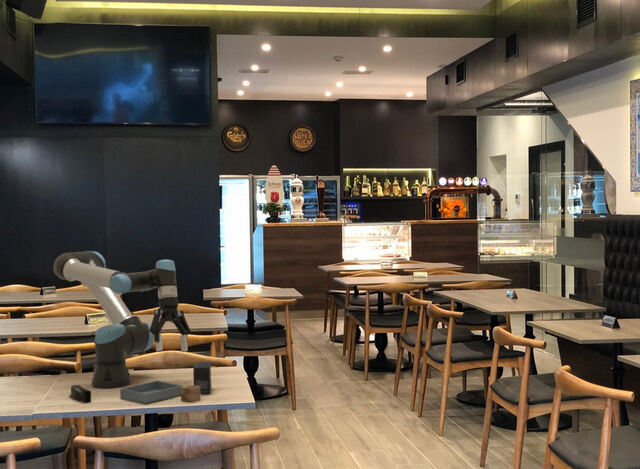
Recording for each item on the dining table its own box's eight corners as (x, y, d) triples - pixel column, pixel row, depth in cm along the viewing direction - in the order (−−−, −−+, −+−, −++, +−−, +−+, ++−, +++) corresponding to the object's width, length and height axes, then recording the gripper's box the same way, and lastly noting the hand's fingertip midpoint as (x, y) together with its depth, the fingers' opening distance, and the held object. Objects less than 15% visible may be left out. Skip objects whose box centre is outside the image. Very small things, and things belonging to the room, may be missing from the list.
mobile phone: (92, 389, 279) (74, 382, 290) (84, 391, 277) (66, 383, 288) (92, 403, 279) (74, 395, 290) (84, 404, 277) (67, 396, 288)
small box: (194, 388, 298) (194, 362, 297) (211, 388, 298) (211, 361, 298) (193, 395, 287) (192, 367, 287) (210, 394, 288) (210, 366, 288)
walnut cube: (181, 401, 278) (180, 387, 278) (189, 398, 283) (189, 384, 282) (191, 402, 276) (191, 389, 276) (200, 399, 280) (200, 386, 280)
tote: (120, 398, 284) (120, 388, 284) (157, 389, 297) (157, 380, 297) (146, 404, 274) (146, 394, 274) (183, 395, 287) (183, 385, 287)
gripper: (151, 293, 294) (155, 348, 288) (196, 298, 314) (201, 350, 308) (137, 297, 298) (141, 351, 292) (183, 302, 318) (187, 353, 312)
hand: (172, 351), depth 300 cm, fingers open, 13 cm apart
